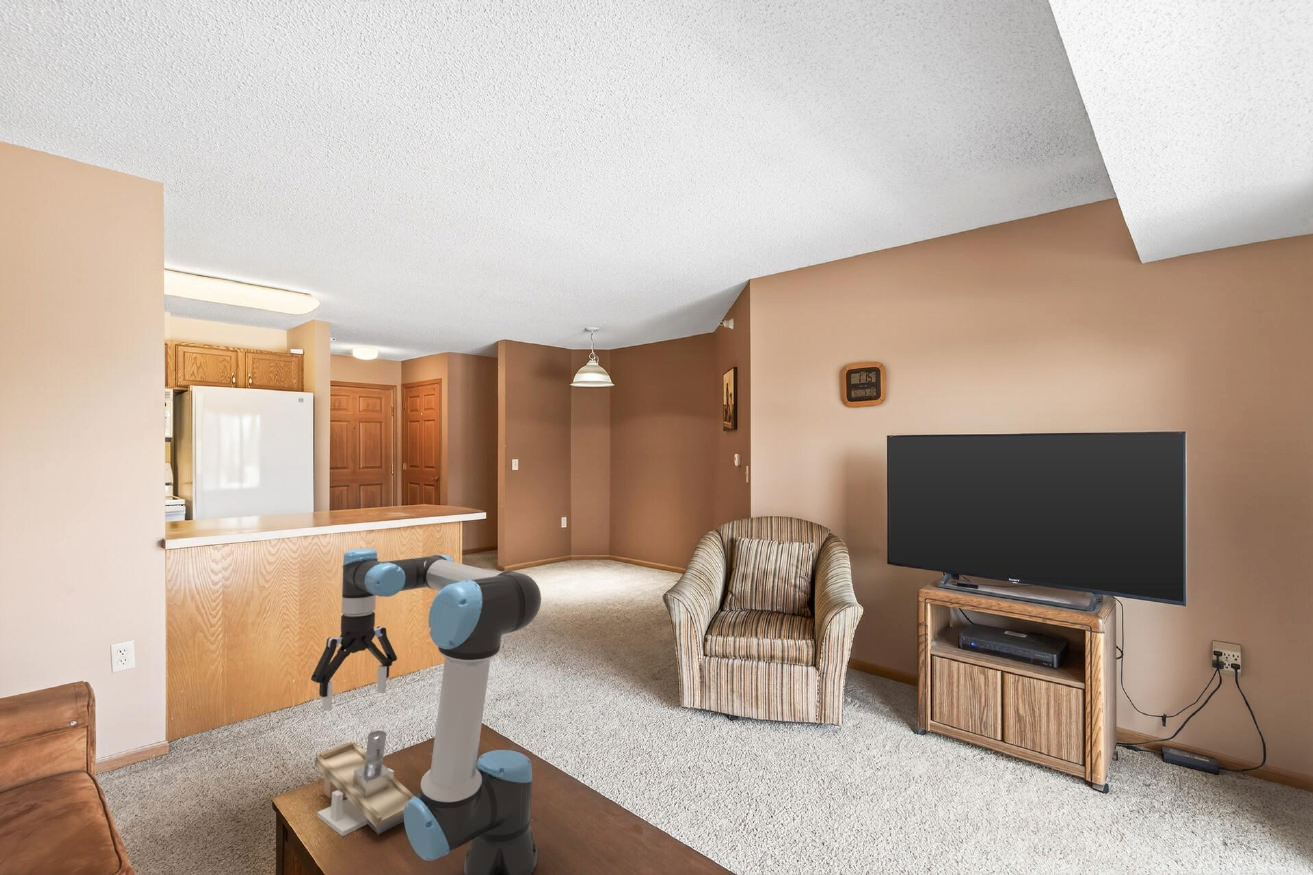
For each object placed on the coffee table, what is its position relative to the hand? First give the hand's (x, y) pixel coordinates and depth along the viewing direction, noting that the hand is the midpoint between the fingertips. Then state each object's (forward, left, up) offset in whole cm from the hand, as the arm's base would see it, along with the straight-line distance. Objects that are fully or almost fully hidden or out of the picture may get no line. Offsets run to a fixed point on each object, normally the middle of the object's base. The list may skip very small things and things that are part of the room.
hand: (355, 700), depth 146 cm
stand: (+3, -3, -27) cm, 28 cm away
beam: (-1, -3, -24) cm, 24 cm away
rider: (-4, -3, -21) cm, 21 cm away
